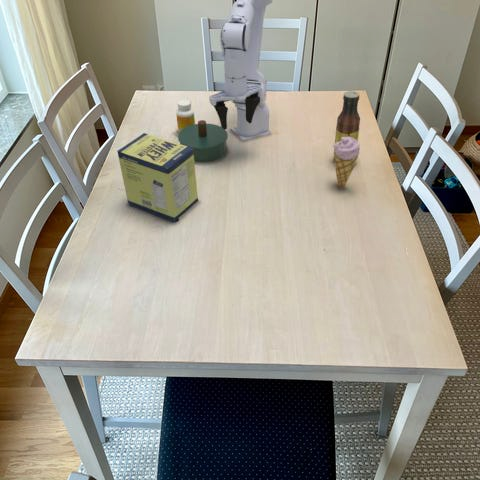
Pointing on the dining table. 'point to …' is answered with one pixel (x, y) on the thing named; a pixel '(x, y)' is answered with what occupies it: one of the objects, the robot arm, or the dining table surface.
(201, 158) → the pot
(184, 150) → the protein box
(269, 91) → the dining table surface
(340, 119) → the sauce bottle
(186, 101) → the supplement bottle
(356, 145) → the ice cream cone
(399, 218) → the dining table surface
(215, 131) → the lid
